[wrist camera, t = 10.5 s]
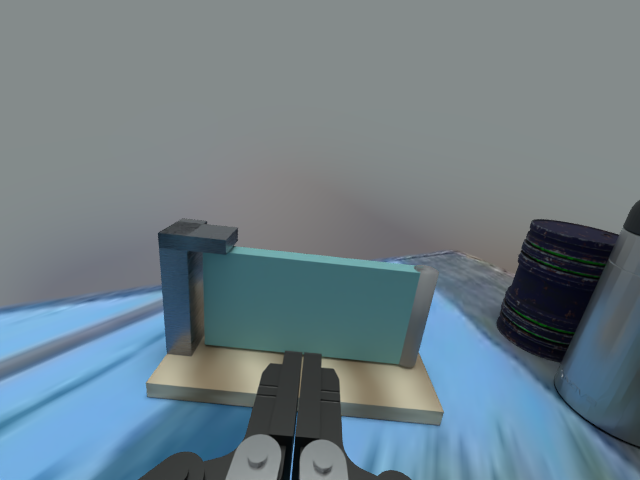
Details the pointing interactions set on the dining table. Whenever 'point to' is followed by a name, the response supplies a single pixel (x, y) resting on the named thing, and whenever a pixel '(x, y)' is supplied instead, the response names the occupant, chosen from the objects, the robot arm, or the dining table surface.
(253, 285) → the teal upright panel
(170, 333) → the cooler block
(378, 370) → the mounting board
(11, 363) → the dining table surface
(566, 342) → the storage jar
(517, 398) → the dining table surface
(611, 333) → the robot arm
